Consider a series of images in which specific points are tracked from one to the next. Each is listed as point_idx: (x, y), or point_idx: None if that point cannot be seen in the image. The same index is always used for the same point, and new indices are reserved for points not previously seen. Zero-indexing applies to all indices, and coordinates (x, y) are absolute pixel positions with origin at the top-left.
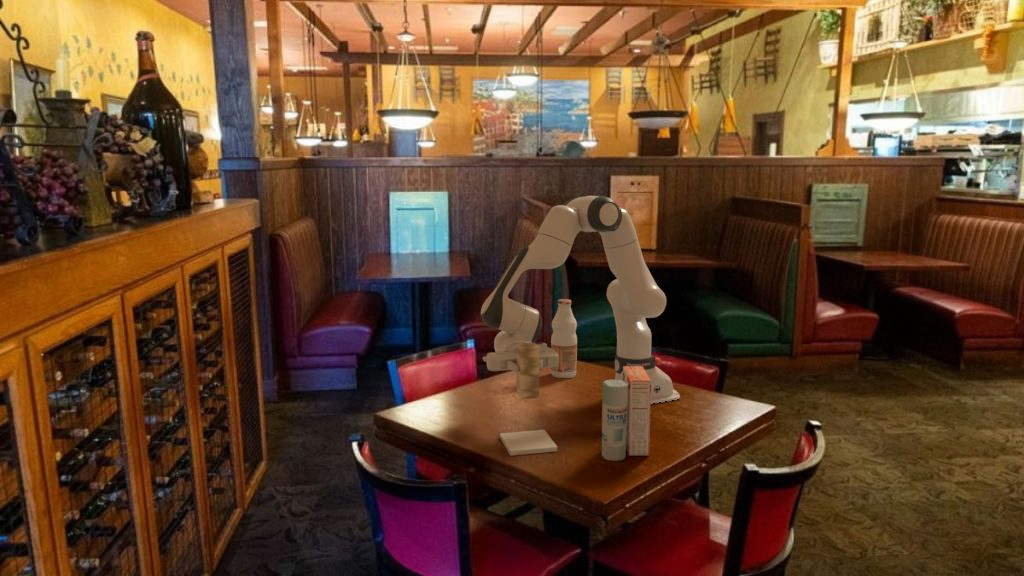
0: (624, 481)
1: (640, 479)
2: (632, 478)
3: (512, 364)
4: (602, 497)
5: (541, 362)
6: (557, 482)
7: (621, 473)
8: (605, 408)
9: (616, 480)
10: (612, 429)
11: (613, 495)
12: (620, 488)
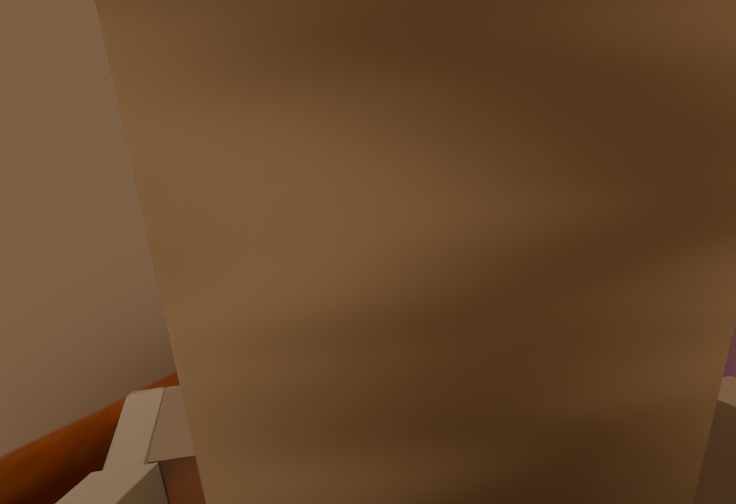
0: (75, 444)
1: (8, 455)
2: (29, 462)
3: (730, 388)
4: None
5: (95, 473)
6: None
7: (38, 497)
8: None
9: (98, 450)
10: None
11: (169, 377)
12: (122, 407)
